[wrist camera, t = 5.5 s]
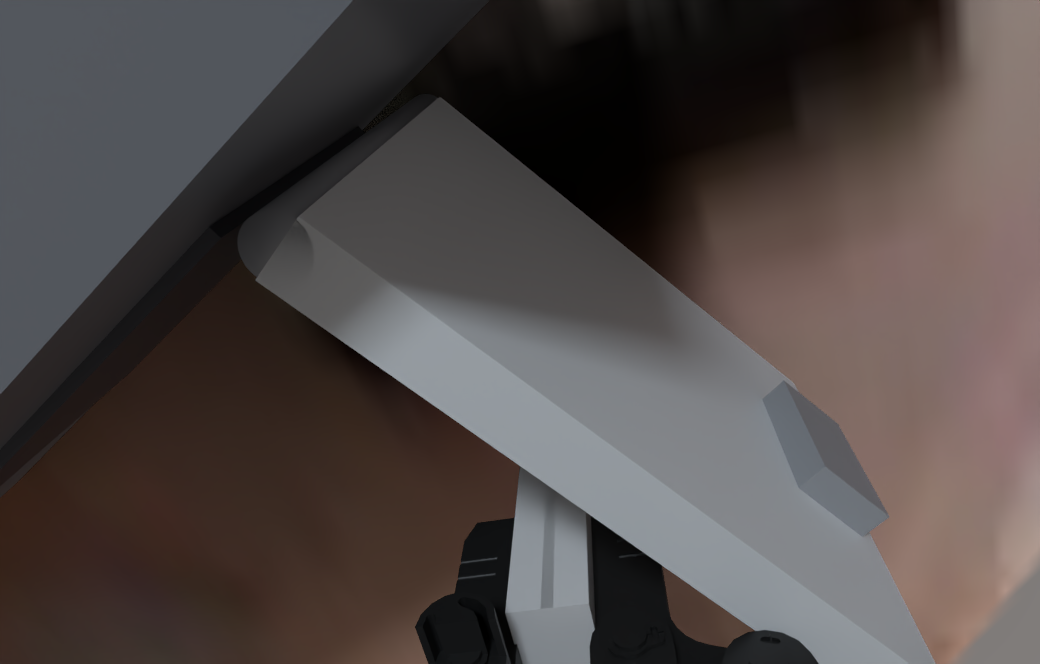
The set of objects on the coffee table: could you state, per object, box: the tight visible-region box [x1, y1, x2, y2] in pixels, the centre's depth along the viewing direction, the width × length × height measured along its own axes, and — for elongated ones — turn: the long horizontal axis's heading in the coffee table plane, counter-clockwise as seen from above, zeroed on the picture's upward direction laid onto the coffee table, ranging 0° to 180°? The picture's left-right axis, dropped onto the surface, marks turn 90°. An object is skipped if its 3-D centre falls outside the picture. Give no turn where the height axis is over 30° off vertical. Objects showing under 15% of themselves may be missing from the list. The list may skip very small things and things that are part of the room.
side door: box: [237, 94, 936, 664], centre depth 14 cm, size 12×2×9 cm, turn 52°
